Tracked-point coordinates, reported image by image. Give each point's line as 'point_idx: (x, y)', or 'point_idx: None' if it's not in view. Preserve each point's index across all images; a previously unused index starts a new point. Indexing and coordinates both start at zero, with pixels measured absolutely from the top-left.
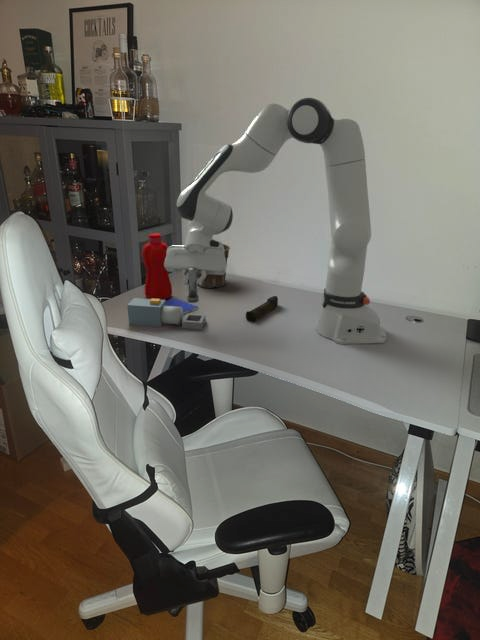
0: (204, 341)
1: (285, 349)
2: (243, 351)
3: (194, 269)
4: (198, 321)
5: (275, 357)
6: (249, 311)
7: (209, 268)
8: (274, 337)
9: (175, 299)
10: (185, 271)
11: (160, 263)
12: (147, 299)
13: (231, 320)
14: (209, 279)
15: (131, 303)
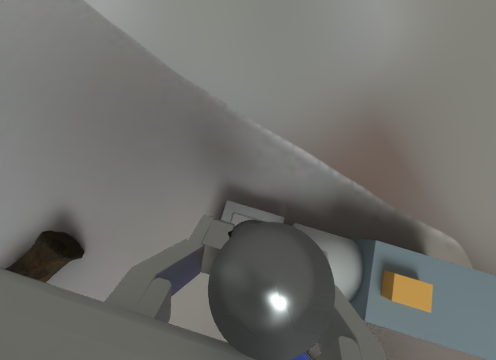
0: (228, 139)
1: (58, 81)
2: (151, 86)
3: (246, 234)
4: (235, 211)
5: (94, 56)
6: (50, 250)
7: (25, 293)
8: (54, 136)
9: None
10: (343, 349)
11: None
12: (442, 338)
13: (132, 256)
14: None
15: (493, 294)
